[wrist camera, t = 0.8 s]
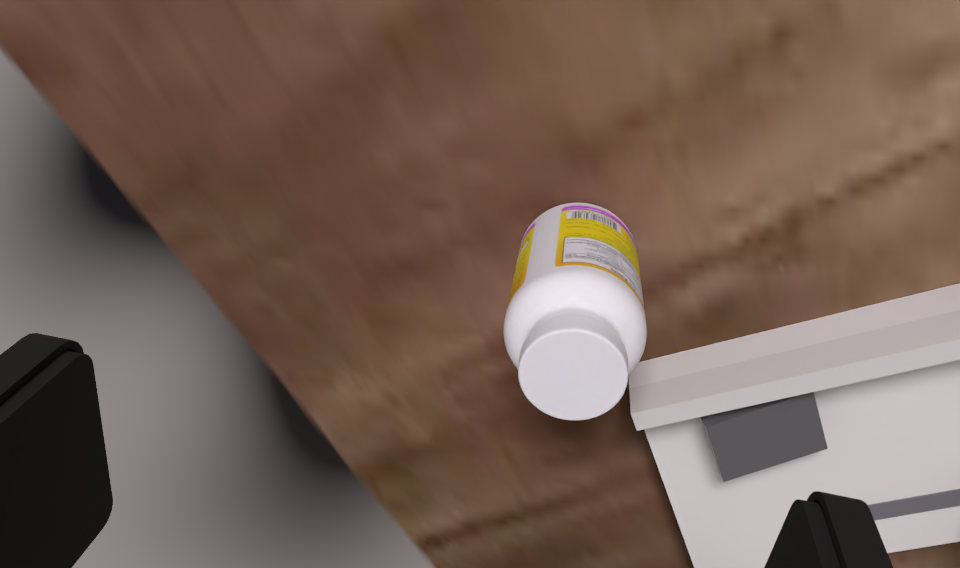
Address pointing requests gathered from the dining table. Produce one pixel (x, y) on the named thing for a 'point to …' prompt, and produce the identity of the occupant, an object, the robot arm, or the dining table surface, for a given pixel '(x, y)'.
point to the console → (844, 417)
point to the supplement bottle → (576, 311)
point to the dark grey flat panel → (764, 435)
